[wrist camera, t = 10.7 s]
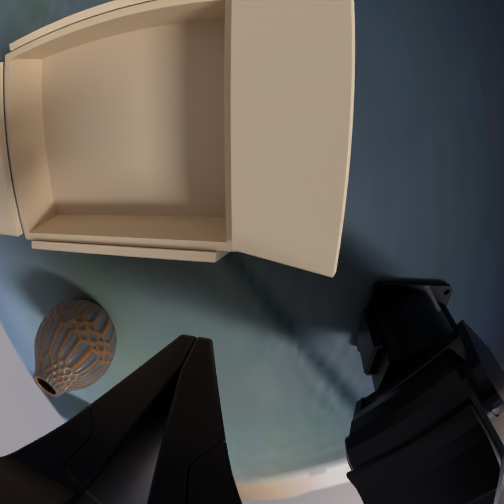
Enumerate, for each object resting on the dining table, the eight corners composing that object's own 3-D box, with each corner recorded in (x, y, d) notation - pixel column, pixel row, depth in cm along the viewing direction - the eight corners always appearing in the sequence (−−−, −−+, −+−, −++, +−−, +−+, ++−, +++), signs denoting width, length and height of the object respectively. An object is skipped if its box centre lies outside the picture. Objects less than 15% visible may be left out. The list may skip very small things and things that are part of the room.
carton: (248, -16, 13) (235, -47, 9) (246, 251, 20) (235, 289, 16) (44, 31, 14) (2, 28, 10) (62, 240, 22) (29, 267, 18)
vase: (53, 298, 25) (1, 357, 17) (94, 276, 23) (33, 346, 15) (95, 351, 28) (55, 415, 20) (141, 338, 26) (100, 416, 18)
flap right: (232, 249, 15) (332, 277, 13) (231, -6, 10) (350, -18, 7) (237, 245, 15) (336, 272, 13) (238, -4, 10) (353, -14, 8)
